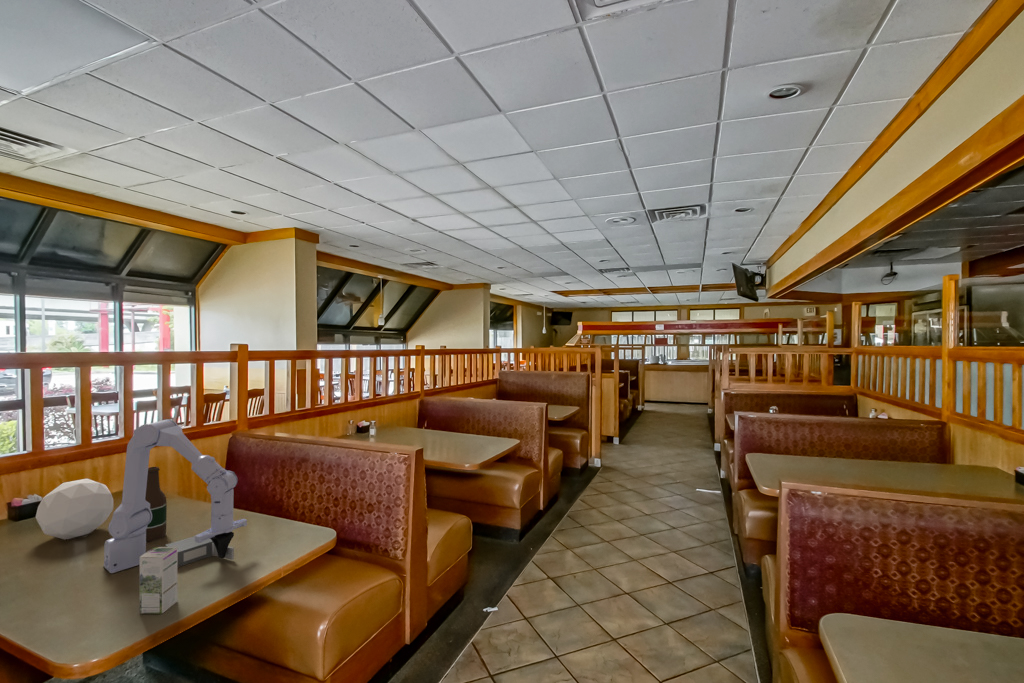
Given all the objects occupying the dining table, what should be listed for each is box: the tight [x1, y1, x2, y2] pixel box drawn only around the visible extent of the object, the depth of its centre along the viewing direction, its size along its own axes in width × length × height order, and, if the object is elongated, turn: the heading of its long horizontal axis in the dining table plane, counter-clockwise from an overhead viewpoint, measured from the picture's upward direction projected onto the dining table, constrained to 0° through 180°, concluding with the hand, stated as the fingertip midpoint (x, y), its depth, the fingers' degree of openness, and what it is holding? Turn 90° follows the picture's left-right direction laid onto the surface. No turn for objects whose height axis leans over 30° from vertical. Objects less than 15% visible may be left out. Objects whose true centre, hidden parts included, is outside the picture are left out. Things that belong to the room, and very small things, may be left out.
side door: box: [211, 543, 235, 561], centre depth 140 cm, size 9×1×4 cm, turn 69°
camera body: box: [164, 535, 213, 568], centre depth 141 cm, size 13×9×5 cm
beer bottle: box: [145, 466, 168, 543], centre depth 155 cm, size 8×8×24 cm
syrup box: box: [139, 546, 178, 615], centre depth 114 cm, size 6×6×14 cm
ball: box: [35, 478, 115, 541], centre depth 156 cm, size 19×20×20 cm
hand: (221, 557), depth 138 cm, fingers closed
